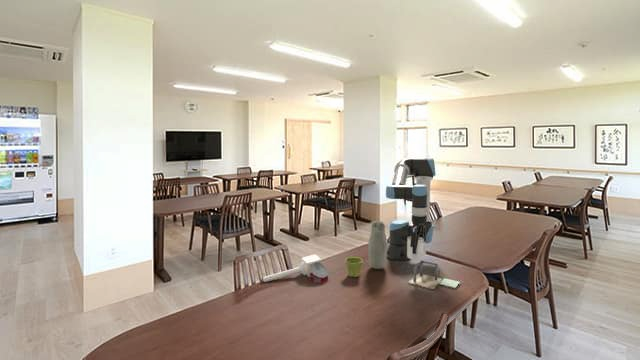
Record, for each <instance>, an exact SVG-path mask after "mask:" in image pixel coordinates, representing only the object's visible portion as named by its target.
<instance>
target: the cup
mask: <svg viewBox="0 0 640 360" xmlns="http://www.w3.org/2000/svg"><path fill="white" fill-rule="evenodd" d="M423 243H424V254H423ZM410 244H411V236H410V237H408V238H407V257H408V258H410V259H409V260H413V259H412V247H410ZM417 247H418V260H423V259H424V257H425V256H426V254H427V243H425V242H424V239H423V238H422V237H419V240H418V245H417Z"/></svg>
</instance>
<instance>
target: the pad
mask: <svg viewBox="0 0 640 360" xmlns="http://www.w3.org/2000/svg"><path fill="white" fill-rule="evenodd" d="M459 283H460V284H461V282H460V281H457V280H453V279H449V278H442V281H441V282H440V283H439V284H441V285H445V286H450V287H453V288H456V287H457V286H458V284H459ZM460 284H459V285H460ZM458 287H459V286H458ZM458 287H457V288H458ZM457 288H456V289H457Z"/></svg>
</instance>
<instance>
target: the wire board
mask: <svg viewBox="0 0 640 360" xmlns="http://www.w3.org/2000/svg"><path fill="white" fill-rule="evenodd" d="M413 278H414V276H413V277H412V278H411V279H410V280H409V281H407V282H408V283H407V284H409V285H412V284H413V285H412V286H416V285H417V287H420V286H422V287H421V288H423V287H426V288H425V289H427V288H430V289H429V290H431V289H434V288H435V287H436V286H437V285H438V284H439V283H440V282H441V281H442V280H443V278H440V277H438V280H435V276H432V275H428V274H424V273H423V276H420V272H418V273H416V282H414V281H413ZM438 286H439V285H438ZM438 286H437V287H438ZM437 287H436V288H437ZM436 288H435V289H436ZM435 289H434V290H435Z"/></svg>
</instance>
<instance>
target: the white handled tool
mask: <svg viewBox="0 0 640 360" xmlns="http://www.w3.org/2000/svg"><path fill="white" fill-rule="evenodd" d="M321 261H322V259H321V258H320V256H318V255H317V254H311V255H307V256H303V257H301V262H300V266H297V267H294V268H290V269H286V270H283V271H280V272H276V273H272V274H269V275H266V276H263V277H262V279H263V282H264V283H268V282H270V281H274V280H277V279H280V278H281V279H282V278H284V277H289V276H291V275H296V274H298V273H302V275H303V276H306V277H308V278H310V273H311V267H310V264H312V263H315V262H321Z"/></svg>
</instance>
